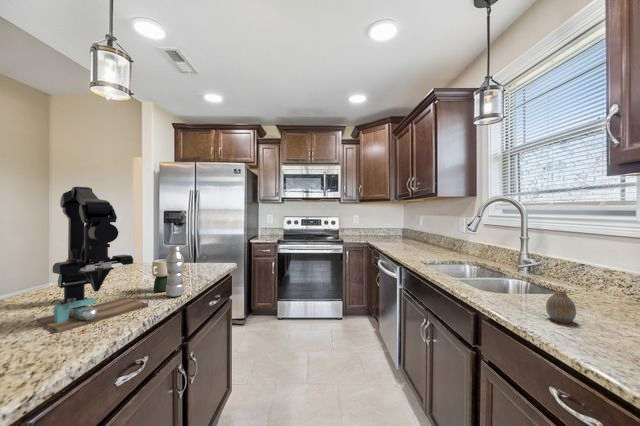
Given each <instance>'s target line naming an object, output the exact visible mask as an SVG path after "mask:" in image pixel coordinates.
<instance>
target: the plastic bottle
mask: <svg viewBox="0 0 640 426" xmlns="http://www.w3.org/2000/svg"><path fill="white" fill-rule="evenodd" d="M180 251H181V245H170V246H169V253H168V255H167V256H166V257H165V259H166V266H167V273H168V274H167V276H168V277H167V286H166V290H165V294H166V295H167V297H173V298H175V297H179V296H182V295H183V294H184V292H185V284H184V277H183V271H184V261H185V258H184V256H183V254H182V253H181V252H180Z"/></svg>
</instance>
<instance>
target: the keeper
mask: <svg viewBox="0 0 640 426" xmlns="http://www.w3.org/2000/svg"><path fill="white" fill-rule="evenodd" d="M95 303H97V299H96V298H94V297H89V298H88V299H84V300H80V301H75V302H71V303H66V304H63V303H61V304H58V305H55V306H53V315H54V322H56V323H60V322H63V321H67V320H69V309H71V308H75V307H79V306H84V305H86V306H89V305H91V304H95Z"/></svg>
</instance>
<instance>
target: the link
mask: <svg viewBox="0 0 640 426" xmlns="http://www.w3.org/2000/svg"><path fill="white" fill-rule="evenodd" d="M75 301H76V298H69V299H67V303H71V302H75ZM90 306H91V305H84V306H79V307H75V308H71V309H69V316H71V317H74V318H77V319H80V320H84V321H85V320H92V319H95V318H97V308H93V307H90Z"/></svg>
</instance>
